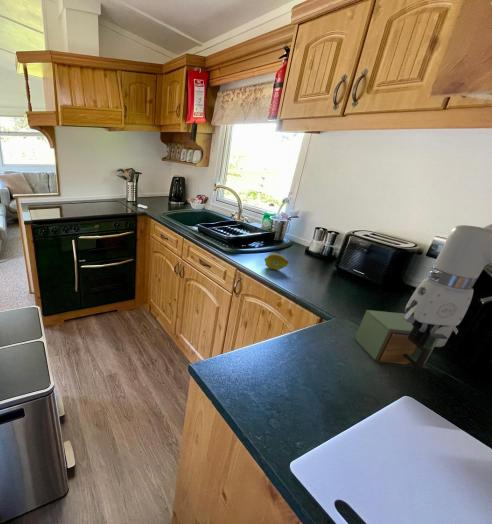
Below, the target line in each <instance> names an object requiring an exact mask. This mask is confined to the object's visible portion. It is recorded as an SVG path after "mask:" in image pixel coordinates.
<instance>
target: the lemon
mask: <svg viewBox="0 0 492 524" xmlns="http://www.w3.org/2000/svg"><path fill="white" fill-rule="evenodd" d="M264 262H265V266H266V267H267V268H268V269H270V270H272V269H273V270H272V271H279V270H282V269H284V268H285V267H288V265H289V263H290V262H289V260H288V259H286V257H284V256H283V255H281V254H279V253H270V254H269V255H267V256H266V257H265V258H264Z"/></svg>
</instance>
